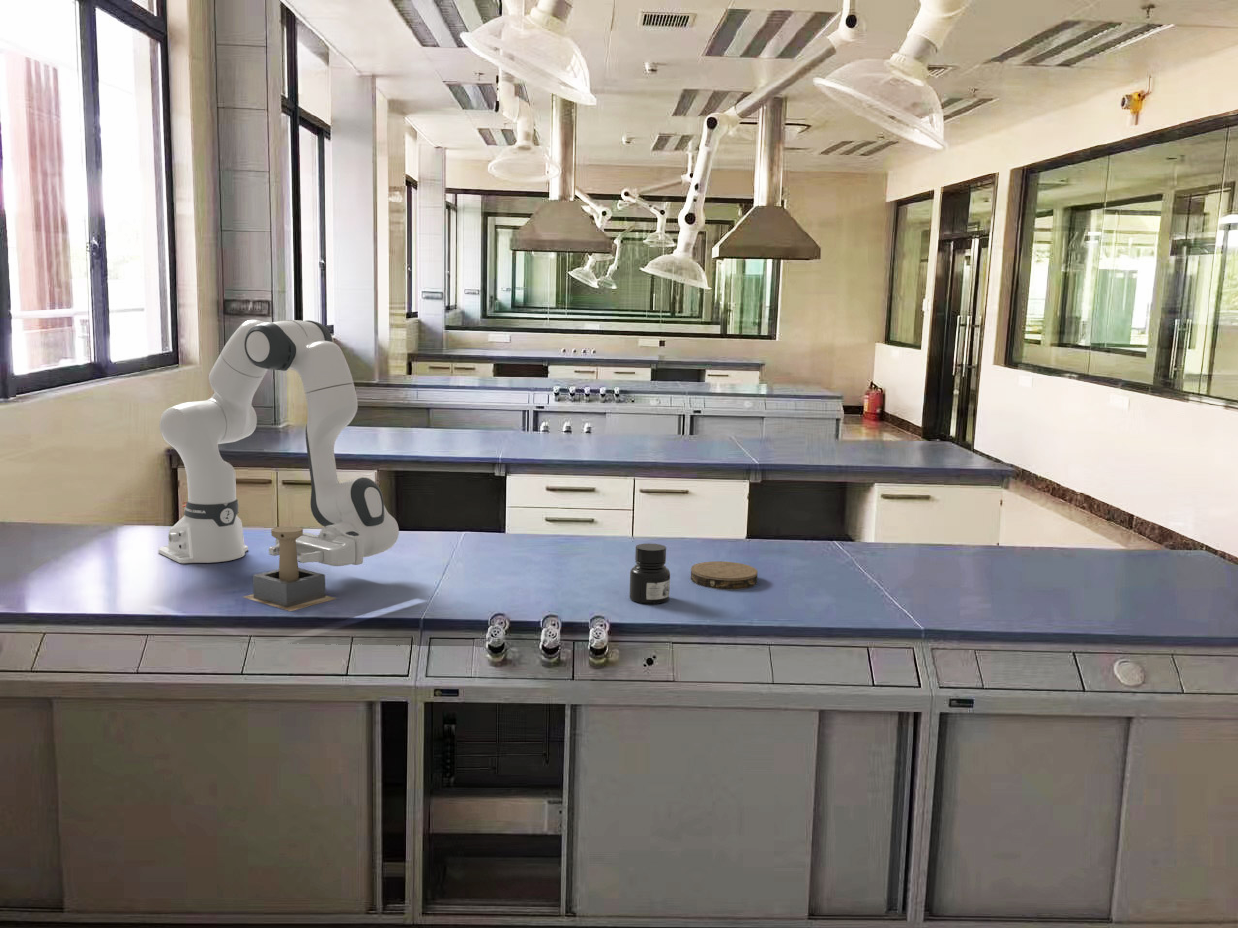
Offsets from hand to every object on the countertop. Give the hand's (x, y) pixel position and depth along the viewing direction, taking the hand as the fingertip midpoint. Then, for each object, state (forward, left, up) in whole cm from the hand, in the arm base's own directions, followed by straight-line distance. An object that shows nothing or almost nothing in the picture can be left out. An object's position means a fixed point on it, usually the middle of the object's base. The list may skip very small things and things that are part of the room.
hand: (285, 555), depth 222 cm
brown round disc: (+63, +78, -11) cm, 101 cm away
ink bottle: (+58, +53, -11) cm, 79 cm away
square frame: (0, +1, -9) cm, 10 cm away
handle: (0, +1, -10) cm, 10 cm away
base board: (0, +1, -10) cm, 11 cm away
